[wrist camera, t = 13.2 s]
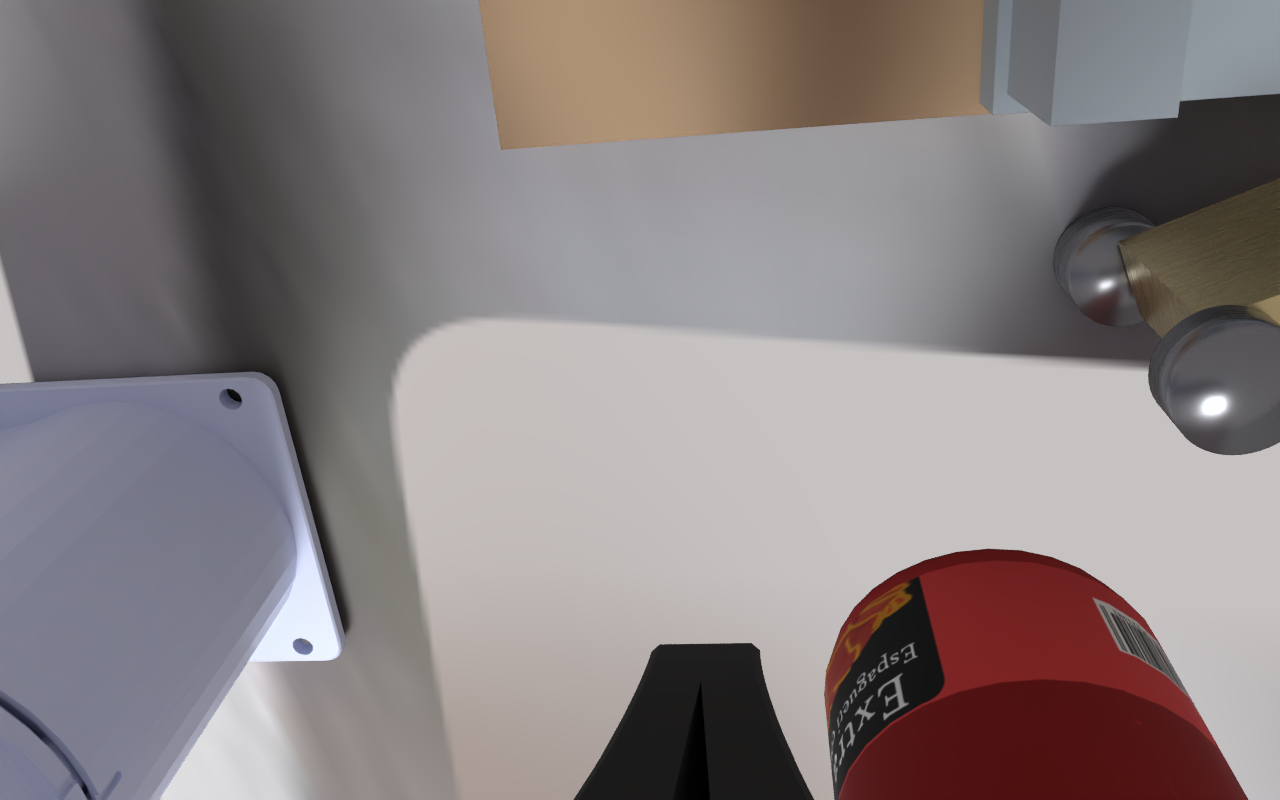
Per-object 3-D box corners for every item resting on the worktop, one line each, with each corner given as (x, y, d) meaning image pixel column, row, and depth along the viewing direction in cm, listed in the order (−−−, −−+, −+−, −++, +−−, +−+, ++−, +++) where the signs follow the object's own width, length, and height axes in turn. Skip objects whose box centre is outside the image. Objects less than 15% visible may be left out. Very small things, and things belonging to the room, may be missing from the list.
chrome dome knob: (1049, 305, 21) (1067, 328, 20) (1057, 210, 20) (1077, 229, 19) (1152, 300, 21) (1176, 323, 20) (1164, 203, 20) (1190, 222, 19)
